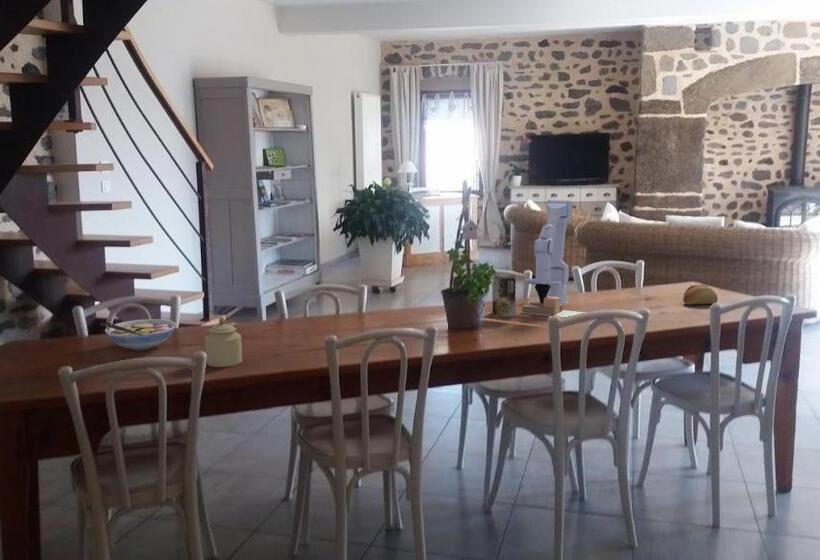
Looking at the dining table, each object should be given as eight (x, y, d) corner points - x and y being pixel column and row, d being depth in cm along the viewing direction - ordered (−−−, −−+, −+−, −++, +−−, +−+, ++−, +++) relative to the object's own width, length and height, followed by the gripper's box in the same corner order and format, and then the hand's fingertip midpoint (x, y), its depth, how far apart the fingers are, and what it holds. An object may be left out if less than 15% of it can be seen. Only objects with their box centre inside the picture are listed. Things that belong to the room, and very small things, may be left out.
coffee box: (515, 315, 298) (515, 275, 295) (515, 318, 291) (516, 277, 289) (491, 314, 299) (492, 274, 296) (491, 318, 292) (492, 277, 289)
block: (547, 310, 300) (547, 295, 299) (559, 311, 298) (560, 297, 297) (543, 312, 297) (543, 297, 295) (555, 314, 294) (555, 299, 293)
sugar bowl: (204, 356, 245) (201, 311, 242) (239, 353, 248) (236, 308, 246) (207, 369, 231) (204, 321, 228) (244, 365, 234) (241, 318, 232)
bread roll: (676, 303, 317) (677, 284, 315) (708, 301, 320) (709, 282, 319) (690, 307, 307) (691, 288, 306) (722, 305, 311) (723, 286, 309)
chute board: (532, 309, 308) (533, 300, 307) (590, 315, 295) (590, 306, 295) (521, 315, 297) (521, 306, 297) (580, 321, 285) (580, 312, 285)
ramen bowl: (192, 347, 256) (190, 323, 255) (129, 361, 240) (127, 336, 238) (154, 335, 273) (152, 313, 271) (92, 348, 256) (90, 325, 255)
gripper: (522, 269, 296) (521, 303, 299) (557, 272, 289) (556, 306, 291) (528, 266, 302) (528, 299, 305) (563, 269, 295) (562, 303, 297)
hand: (542, 303), depth 299 cm, fingers closed
